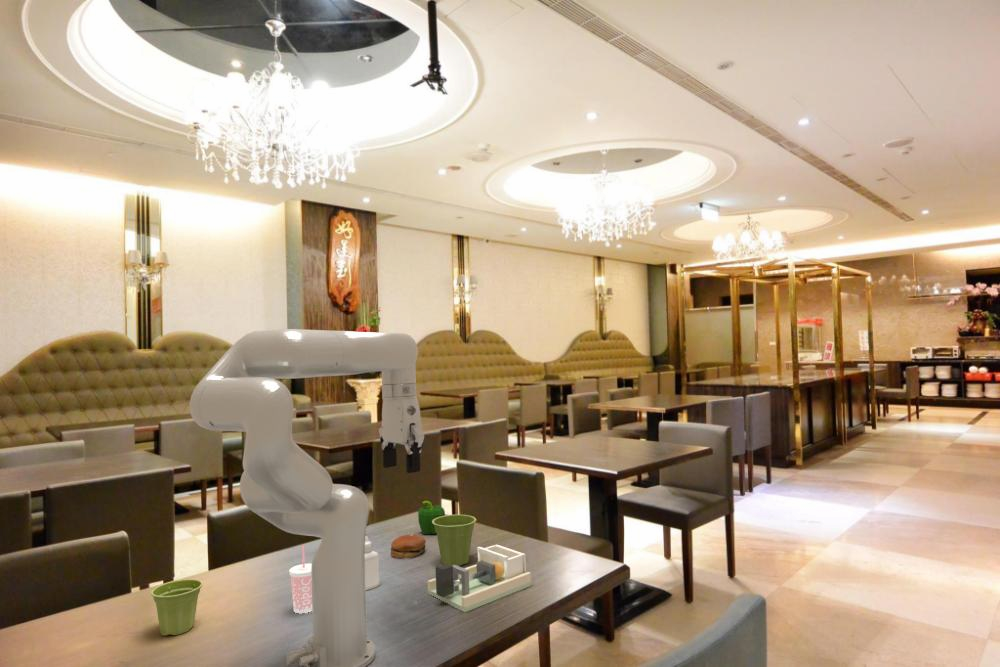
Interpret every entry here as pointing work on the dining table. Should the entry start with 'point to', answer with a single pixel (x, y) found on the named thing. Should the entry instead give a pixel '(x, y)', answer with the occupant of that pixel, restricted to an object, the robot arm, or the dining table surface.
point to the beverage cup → (301, 586)
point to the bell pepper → (429, 517)
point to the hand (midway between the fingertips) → (401, 469)
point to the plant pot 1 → (176, 605)
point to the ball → (498, 570)
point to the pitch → (479, 591)
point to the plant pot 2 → (454, 538)
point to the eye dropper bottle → (371, 566)
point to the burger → (407, 546)
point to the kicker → (446, 578)
